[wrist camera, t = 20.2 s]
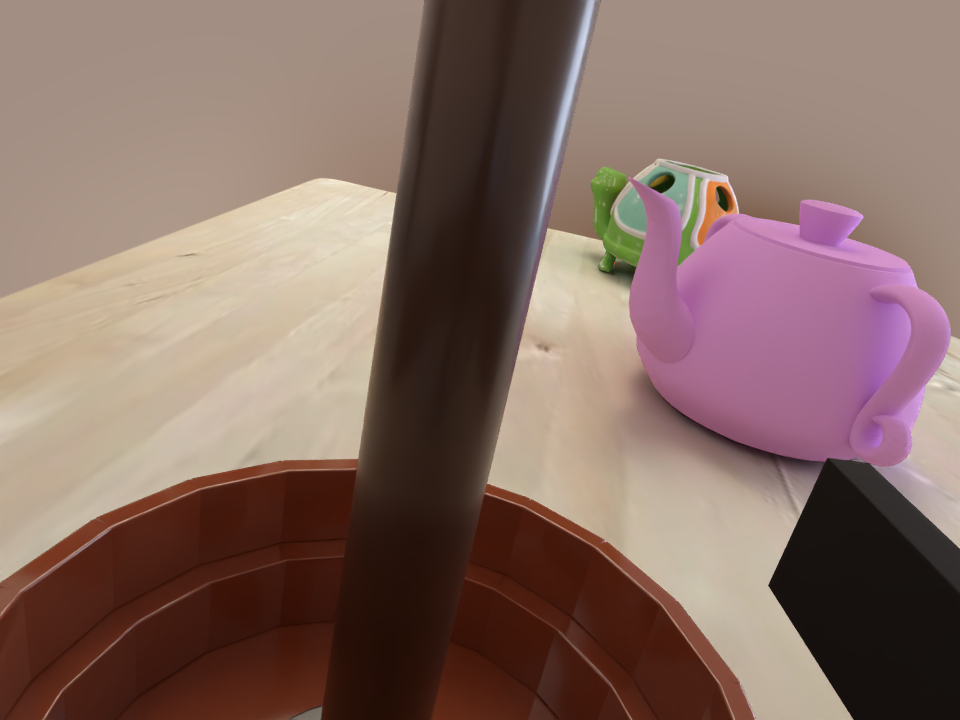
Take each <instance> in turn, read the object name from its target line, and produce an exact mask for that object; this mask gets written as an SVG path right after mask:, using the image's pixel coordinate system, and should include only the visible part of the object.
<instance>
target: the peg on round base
mask: <svg viewBox="0 0 960 720" xmlns="http://www.w3.org/2000/svg"><path fill="white" fill-rule="evenodd" d="M600 3H601V0H424V6H423V14H422V20H421V27H420V34H419V41H418V48H417V55H416V62H415V70H414V76H413V83H412V90H411V97H410V104H409V111H408V117H407V125H406V131H405V138H404V145H403V152H402V159H401V167H400V173H399V181H398V187H397V194H396V201H395V208H394V215H393V222H392V228H391V235H390V242H389V249H388V256H387V263H386V270H385V277H384V284H383V291H382V298H381V305H380V312H379V319H378V326H377V333H376V340H375V346H374V353H373V360H372V367H371V374H370V381H369V388H368V395H367V402H366V409H365V416H364V423H363V430H362V437H361V444H360V451H359V458H358V464H357V471H356V478H355V485H354V492H353V499H352V506H351V513H350V520H349V527H348V534H347V541H346V548H345V555H344V562H343V569H342V576H341V582H340V589H339V596H338V603H337V610H336V617H335V624H334V631H333V638H332V645H331V652H330V659H329V666H328V673H327V680H326V687H325V694H324V700H323V705H321V706H318V707H315V708H312V709H309V710H306V711H304V712H302V713H300V714H298V715H296V716H293V717H292V718H290V719H288V720H431V719H432V715H433V710H434V706H435V702H436V698H437V693H438V689H439V685H440V681H441V677H442V672H443V668H444V664H445V660H446V655H447V651H448V647H449V643H450V638H451V634H452V630H453V626H454V621H455V617H456V613H457V609H458V604H459V600H460V596H461V592H462V588H463V583H464V579H465V575H466V571H467V566H468V562H469V558H470V554H471V549H472V545H473V541H474V537H475V532H476V528H477V524H478V520H479V516H480V511H481V507H482V503H483V499H484V494H485V490H486V486H487V482H488V477H489V473H490V469H491V465H492V460H493V456H494V452H495V448H496V443H497V439H498V435H499V431H500V427H501V422H502V418H503V414H504V410H505V405H506V401H507V397H508V393H509V388H510V384H511V380H512V376H513V371H514V367H515V363H516V359H517V354H518V350H519V346H520V342H521V338H522V333H523V329H524V325H525V321H526V316H527V312H528V308H529V304H530V299H531V295H532V291H533V287H534V282H535V278H536V274H537V270H538V266H539V261H540V257H541V253H542V249H543V244H544V240H545V236H546V232H547V227H548V223H549V219H550V215H551V210H552V206H553V202H554V198H555V193H556V189H557V185H558V181H559V177H560V172H561V168H562V163H563V159H564V155H565V151H566V147H567V143H568V138H569V134H570V130H571V126H572V121H573V117H574V113H575V109H576V104H577V100H578V96H579V92H580V87H581V83H582V79H583V75H584V71H585V66H586V62H587V58H588V54H589V49H590V45H591V41H592V37H593V32H594V28H595V24H596V20H597V16H598V11H599V7H600Z"/></svg>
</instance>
